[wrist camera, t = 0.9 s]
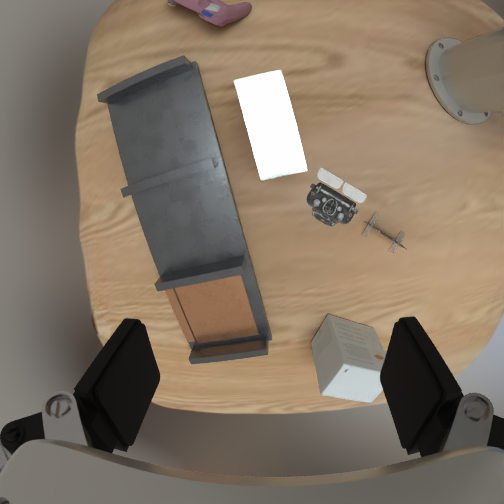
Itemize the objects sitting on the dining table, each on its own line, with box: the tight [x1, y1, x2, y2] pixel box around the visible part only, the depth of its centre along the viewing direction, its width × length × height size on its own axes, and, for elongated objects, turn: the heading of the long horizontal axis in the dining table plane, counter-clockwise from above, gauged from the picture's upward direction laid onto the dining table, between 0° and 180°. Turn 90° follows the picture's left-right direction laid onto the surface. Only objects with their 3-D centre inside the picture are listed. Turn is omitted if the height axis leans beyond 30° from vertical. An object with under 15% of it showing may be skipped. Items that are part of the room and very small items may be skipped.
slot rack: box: [97, 56, 272, 364], centre depth 32 cm, size 12×37×4 cm, turn 14°
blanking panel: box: [234, 70, 308, 181], centre depth 26 cm, size 4×9×9 cm, turn 14°
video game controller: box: [167, 0, 252, 26], centre depth 22 cm, size 10×5×7 cm, turn 50°
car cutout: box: [307, 168, 407, 253], centre depth 31 cm, size 15×7×4 cm, turn 63°
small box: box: [311, 314, 386, 403], centre depth 34 cm, size 8×6×10 cm
